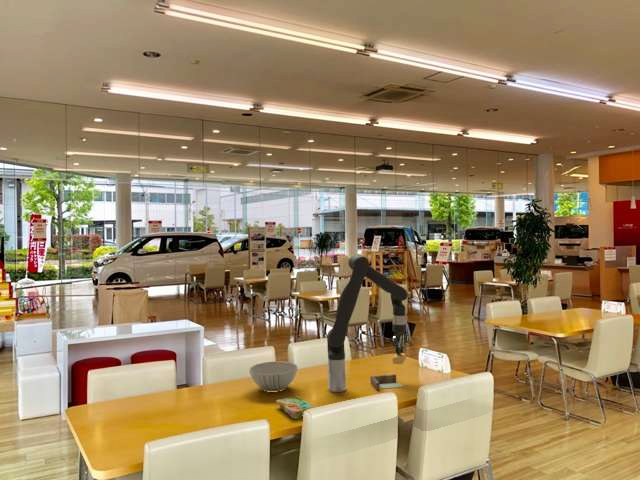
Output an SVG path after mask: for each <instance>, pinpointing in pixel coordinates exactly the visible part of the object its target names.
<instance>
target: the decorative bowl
mask: <svg viewBox="0 0 640 480" xmlns="http://www.w3.org/2000/svg"><path fill="white" fill-rule="evenodd" d="M298 369H299V366H298V365H297V364H296V363H294V362H290V361H281V360H280V361H278V360H277V361H266V362H265V361H264V362H260V363H257V364H253V365H252V366H250V367H249V374H250V377H251V379H252V380H253V382H254V383H255V384H256V385H257V386H258V387H259V388H261V389H262V391H263V390H265V391H280V390H283V389H285V390H286V388H288V387H289V386H290V385H291V384H292V382H293V381H294V379H295V377H296V376H297V373H298ZM265 391H264V392H265Z"/></svg>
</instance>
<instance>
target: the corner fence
mask: <svg viewBox="0 0 640 480" xmlns="http://www.w3.org/2000/svg"><path fill="white" fill-rule="evenodd" d="M384 383H397V374H395V373H394V374H393V373H392V374H382V375H381V374H380V375H370V384H371V385H372V387H373V388H374V389H375V390H376V391H380V386H379V384H384Z"/></svg>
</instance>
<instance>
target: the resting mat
mask: <svg viewBox="0 0 640 480" xmlns="http://www.w3.org/2000/svg"><path fill="white" fill-rule="evenodd" d="M379 388H381V389H382V390H383V389H384V390H385V389H397V388H399V389H400V388H404V385H402V384H401V382H390V383H379Z"/></svg>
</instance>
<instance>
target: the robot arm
mask: <svg viewBox="0 0 640 480" xmlns="http://www.w3.org/2000/svg"><path fill="white" fill-rule="evenodd" d="M348 267H349V268H350V269H351V271H352V272H351V276H350V278H349V281H348V283H346V285H345V286H344V288H343V289H342V291H341V294H340V296H339V298H338V299H339V300H338V303H337V309H336V315H335V321H334V323H333V327H332V328H331V329H330V330H329V331H328V332H327V336H326V337H327V338H326V340H327V357H328V358H327V360H328V361H327V362H328V366H327V367H328V371H327V385H328V386H327V388H328V391H329V392H332V393H342V392H344V391H346V390H347V383H346V381H347V377H346V350H345V341H346V337H347V336H346V335H347V330H348V327H349V324H350V321H351V318H352V315H353V313H354V311H355V308H356V305H357V301H358V297H359V295H360V290H361V288H362V285H363V281H364V280H365V278H366V279H368V280H369V281H371V282H372V283H374V284H375V285H376V286H378V287H379V288H380V289H381V290H382V291H384V292H385V293H388V294H390V301H391V305H392V332H394V334H393V337H391V341H392V346H393V348H395V354H400V353H404V345H406V342H407V338H408V334H406V333H405V332H406V331H407V317H406V306H405V305H404V304H403V301H406V300H407V299H408V297H409V296H408V295H409V294H408V291H407V289H406V288H404V287H403V286H401V285H399V284H397V283H396V282H395V281H393V280H392V279H390V278H389V277H388V276H386V275H385V274H383V273H382V272H380V271H378V270H376V269H375V268H374V267H372V266H370V262H369V259H368V258H367V257H366V256H364V255H360V254H353V255H352V256H350V257H349V259H348ZM397 341H399V342H397ZM401 342H402V348H401V350H400V348H399V347H400V343H401ZM397 343H398V344H397Z"/></svg>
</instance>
